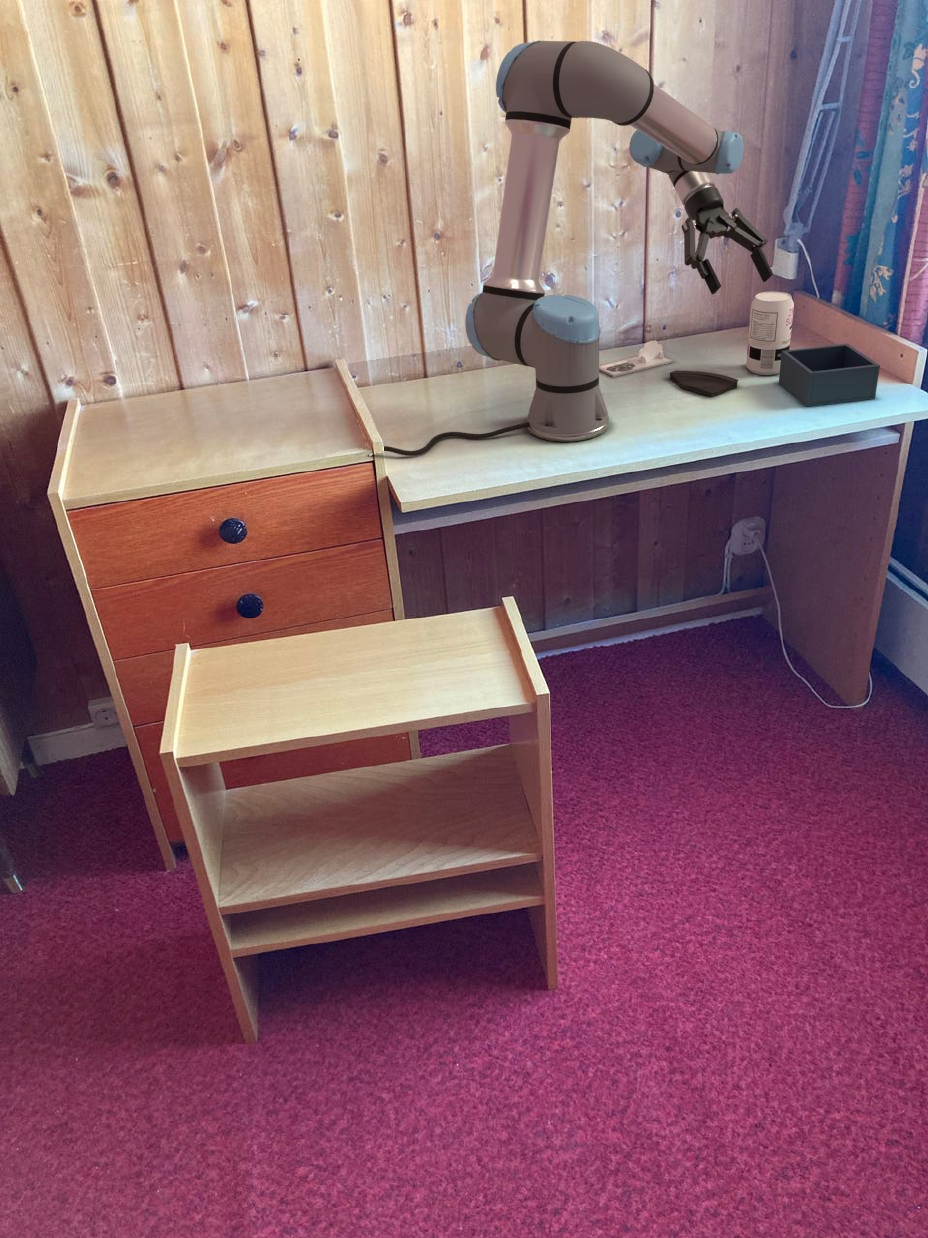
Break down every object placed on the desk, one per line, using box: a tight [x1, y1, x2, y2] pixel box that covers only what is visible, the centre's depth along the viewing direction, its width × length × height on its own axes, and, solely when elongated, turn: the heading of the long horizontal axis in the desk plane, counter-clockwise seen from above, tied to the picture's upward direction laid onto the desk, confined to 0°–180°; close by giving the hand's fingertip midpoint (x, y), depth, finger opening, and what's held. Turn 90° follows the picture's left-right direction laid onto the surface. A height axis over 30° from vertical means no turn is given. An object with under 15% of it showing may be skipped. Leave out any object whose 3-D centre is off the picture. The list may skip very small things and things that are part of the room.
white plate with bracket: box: [599, 340, 673, 378], centre depth 222 cm, size 15×7×4 cm, turn 117°
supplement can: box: [745, 291, 795, 376], centre depth 212 cm, size 8×8×15 cm
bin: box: [778, 343, 881, 408], centre depth 202 cm, size 14×14×7 cm
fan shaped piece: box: [668, 370, 739, 398], centre depth 210 cm, size 8×14×2 cm, turn 36°
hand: (742, 284), depth 215 cm, fingers open, 13 cm apart
